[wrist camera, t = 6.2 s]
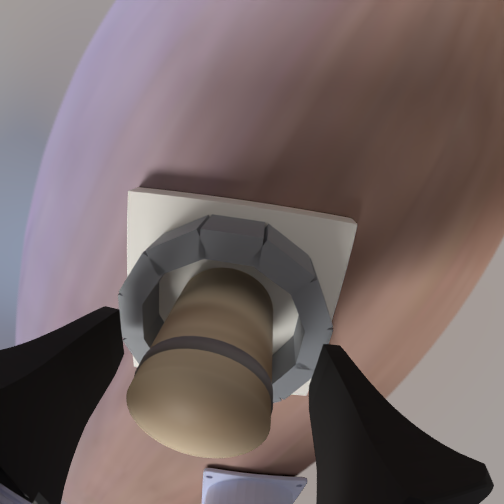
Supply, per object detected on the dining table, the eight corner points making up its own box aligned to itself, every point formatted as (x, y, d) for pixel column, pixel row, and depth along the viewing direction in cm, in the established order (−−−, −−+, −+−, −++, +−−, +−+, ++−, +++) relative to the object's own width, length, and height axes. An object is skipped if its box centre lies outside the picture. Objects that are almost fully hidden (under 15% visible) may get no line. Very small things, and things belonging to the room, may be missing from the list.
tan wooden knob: (262, 357, 14) (254, 467, 8) (175, 337, 14) (130, 438, 8) (284, 278, 12) (291, 385, 7) (183, 256, 12) (120, 346, 7)
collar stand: (305, 382, 15) (309, 424, 13) (140, 355, 16) (120, 391, 13) (351, 218, 12) (373, 240, 10) (138, 187, 12) (103, 200, 10)
